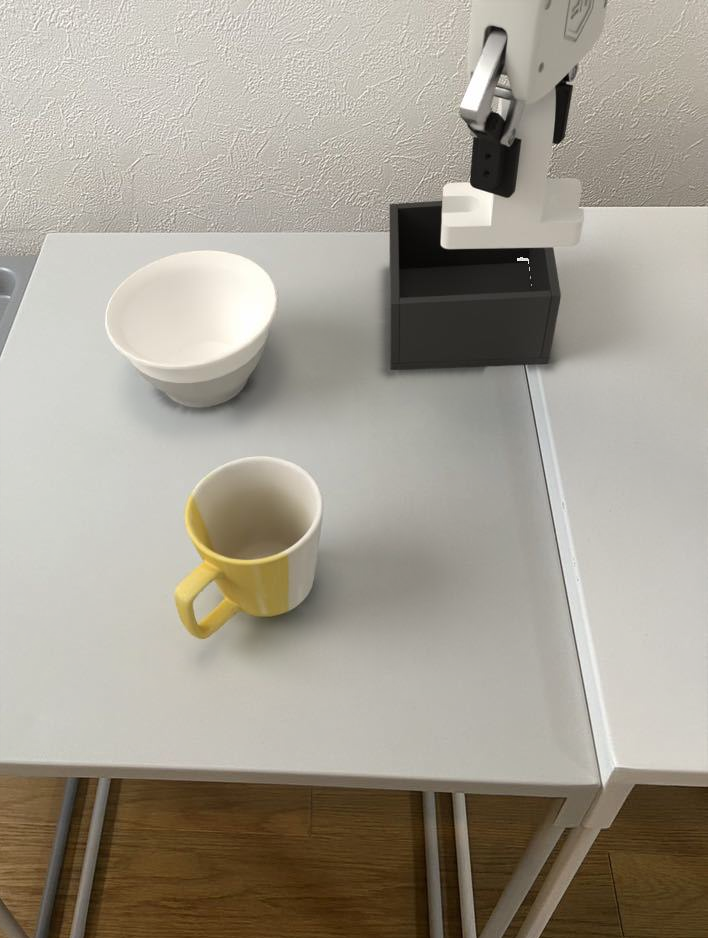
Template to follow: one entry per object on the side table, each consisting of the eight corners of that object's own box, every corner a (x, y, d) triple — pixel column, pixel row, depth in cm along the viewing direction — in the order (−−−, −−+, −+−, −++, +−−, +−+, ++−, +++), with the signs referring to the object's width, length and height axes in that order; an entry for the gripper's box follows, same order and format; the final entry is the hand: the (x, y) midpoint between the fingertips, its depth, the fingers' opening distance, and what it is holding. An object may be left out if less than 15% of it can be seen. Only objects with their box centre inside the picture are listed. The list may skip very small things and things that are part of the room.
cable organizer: (579, 246, 67) (606, 111, 59) (440, 249, 69) (447, 117, 61) (576, 202, 70) (601, 66, 62) (442, 205, 72) (449, 74, 63)
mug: (279, 516, 81) (266, 433, 72) (356, 590, 76) (352, 509, 67) (150, 604, 77) (119, 528, 68) (221, 687, 72) (198, 616, 63)
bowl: (231, 299, 97) (219, 227, 90) (318, 383, 89) (312, 311, 82) (98, 368, 94) (74, 299, 87) (176, 461, 86) (157, 394, 78)
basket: (534, 263, 95) (544, 193, 88) (548, 363, 87) (561, 295, 80) (389, 271, 97) (389, 203, 90) (390, 370, 89) (390, 304, 82)
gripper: (541, -65, 46) (503, 248, 61) (690, -199, 52) (623, 114, 67) (410, -88, 49) (405, 215, 64) (567, -212, 55) (529, 90, 70)
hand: (517, 161), depth 65 cm, fingers closed on cable organizer, 6 cm apart
